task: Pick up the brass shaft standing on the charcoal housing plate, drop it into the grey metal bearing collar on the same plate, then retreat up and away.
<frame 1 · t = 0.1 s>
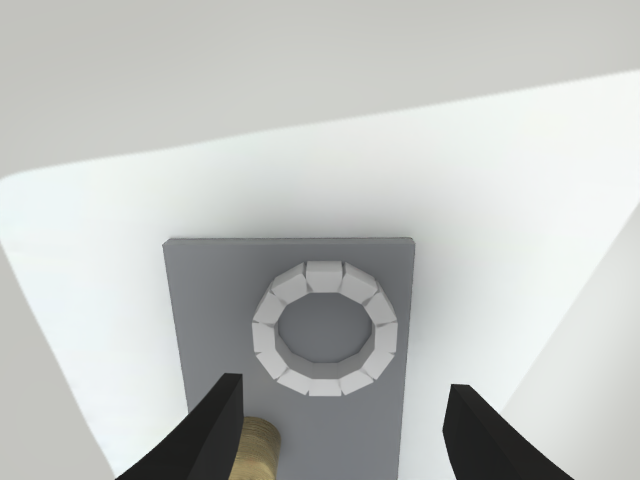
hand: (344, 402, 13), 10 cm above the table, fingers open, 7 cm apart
housing plate: (295, 374, 25), on the table
brass shaft: (251, 439, 25), point 1 cm above the table, touching housing plate
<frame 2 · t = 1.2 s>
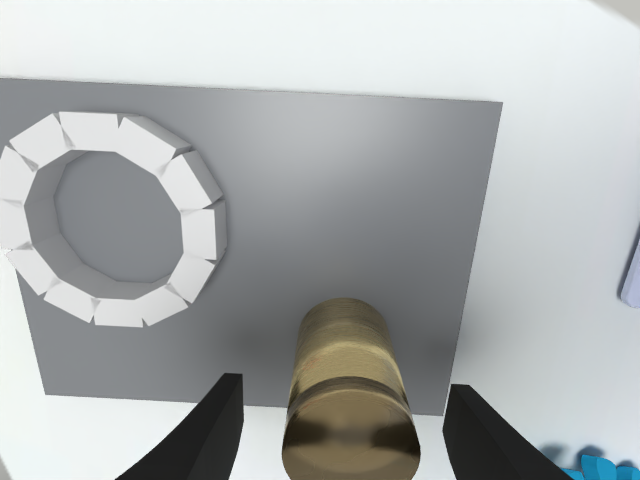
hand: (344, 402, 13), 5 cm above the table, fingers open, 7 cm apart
housing plate: (244, 261, 16), on the table
brass shaft: (343, 338, 16), point 1 cm above the table, touching housing plate
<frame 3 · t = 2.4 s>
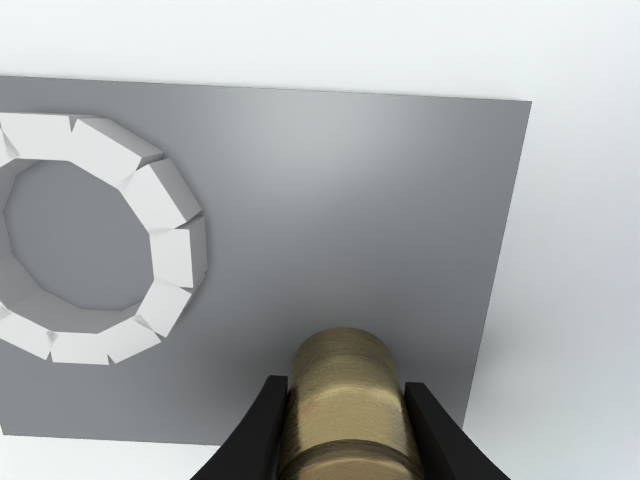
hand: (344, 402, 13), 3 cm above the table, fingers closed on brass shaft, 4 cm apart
housing plate: (229, 284, 14), on the table
brass shaft: (342, 371, 14), point 1 cm above the table, touching gripper, housing plate
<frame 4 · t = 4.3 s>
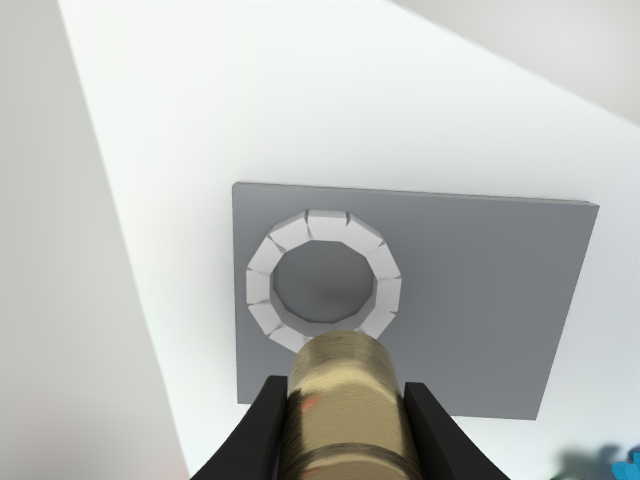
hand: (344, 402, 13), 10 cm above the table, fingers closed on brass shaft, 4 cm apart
housing plate: (396, 306, 22), on the table
brass shaft: (342, 374, 14), point 8 cm above the table, touching gripper
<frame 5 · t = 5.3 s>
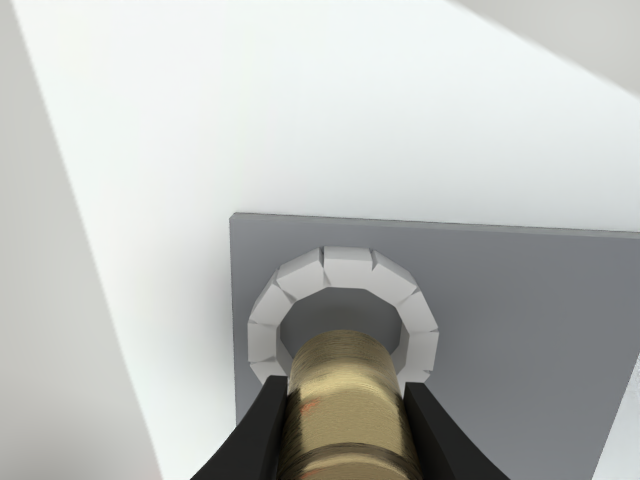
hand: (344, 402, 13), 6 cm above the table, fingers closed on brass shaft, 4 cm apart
housing plate: (426, 356, 19), on the table
brass shaft: (342, 374, 14), point 4 cm above the table, touching gripper
when the fingers open (5 cm above the table, at t = 6.3 s): brass shaft drops 2 cm, resting on housing plate.
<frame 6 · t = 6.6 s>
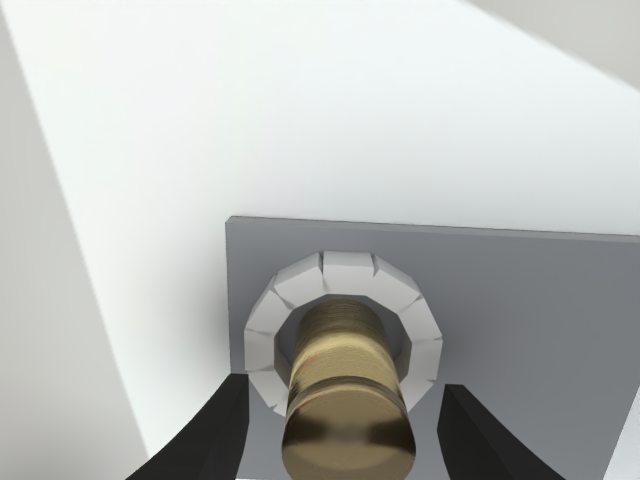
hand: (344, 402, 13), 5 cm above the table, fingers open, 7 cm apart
housing plate: (428, 363, 18), on the table
brass shaft: (340, 338, 17), point 1 cm above the table, touching housing plate
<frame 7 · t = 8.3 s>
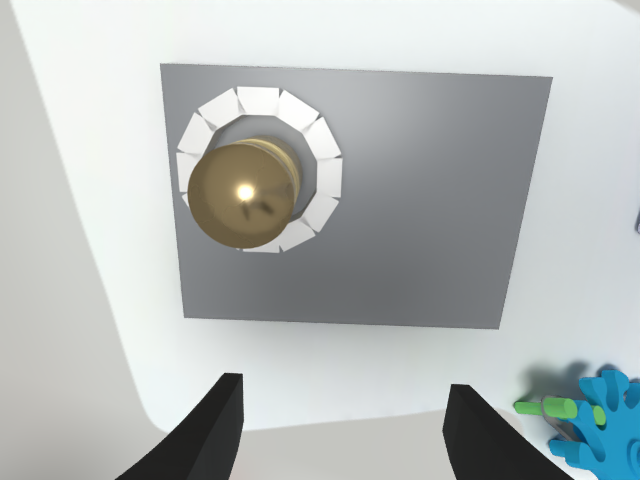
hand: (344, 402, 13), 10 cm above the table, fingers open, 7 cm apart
housing plate: (346, 206, 21), on the table
brass shaft: (264, 174, 20), point 1 cm above the table, touching housing plate
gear: (580, 405, 26), on the table
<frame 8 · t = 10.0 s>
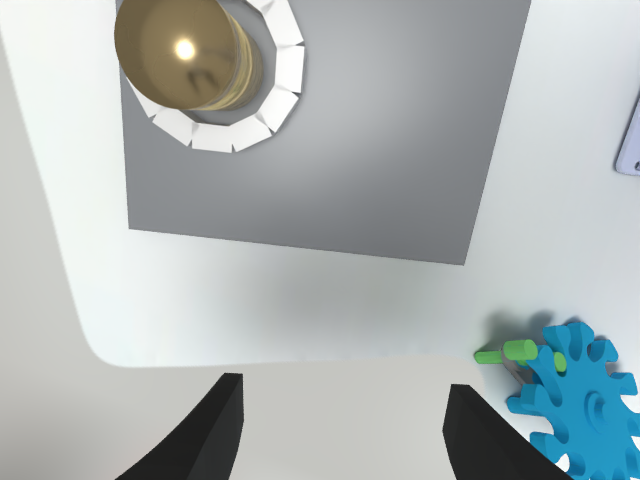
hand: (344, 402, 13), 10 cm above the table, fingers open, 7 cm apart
housing plate: (311, 117, 20), on the table
brass shaft: (222, 67, 18), point 1 cm above the table, touching housing plate
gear: (542, 362, 25), on the table
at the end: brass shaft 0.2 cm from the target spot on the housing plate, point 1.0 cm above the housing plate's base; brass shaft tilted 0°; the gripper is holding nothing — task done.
